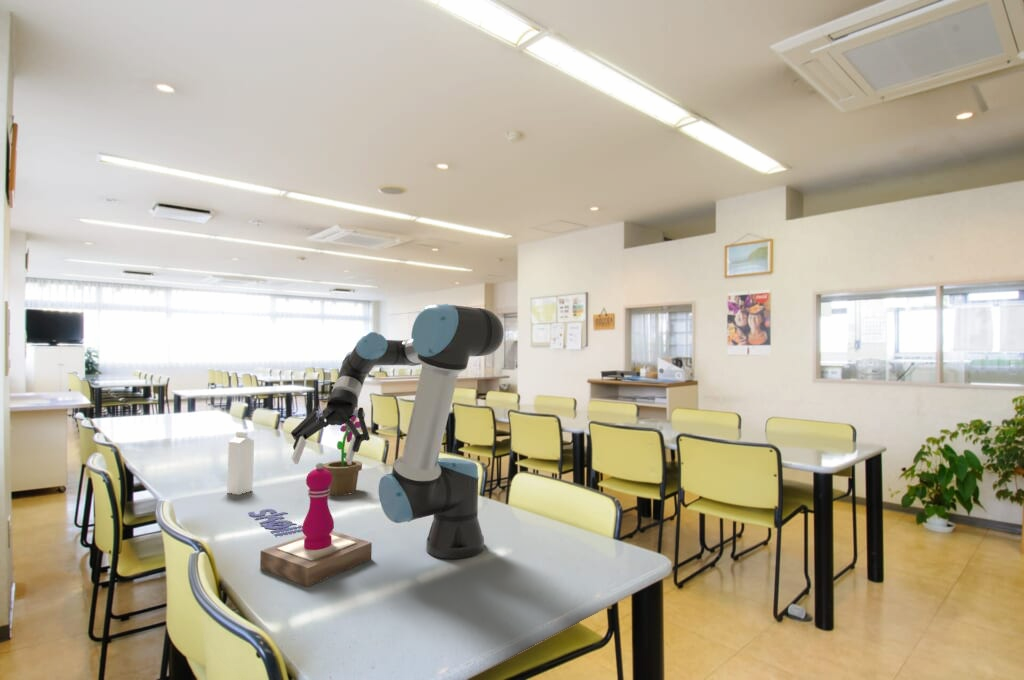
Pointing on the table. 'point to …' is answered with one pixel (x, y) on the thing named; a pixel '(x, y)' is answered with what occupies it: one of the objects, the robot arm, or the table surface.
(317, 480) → the pepper mill
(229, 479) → the milk
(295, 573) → the walnut stand
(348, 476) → the flowerpot
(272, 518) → the signage
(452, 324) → the robot arm
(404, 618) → the table surface
